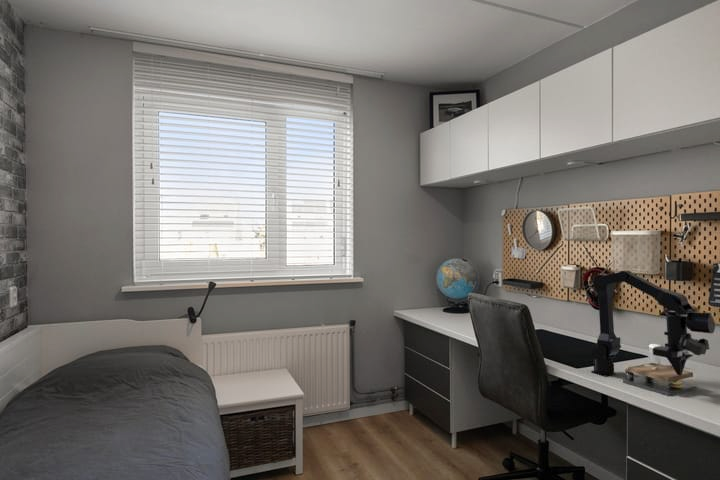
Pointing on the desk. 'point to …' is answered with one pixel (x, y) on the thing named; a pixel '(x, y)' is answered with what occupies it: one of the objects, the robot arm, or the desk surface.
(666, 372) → the top plate
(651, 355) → the milkshake
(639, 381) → the base
